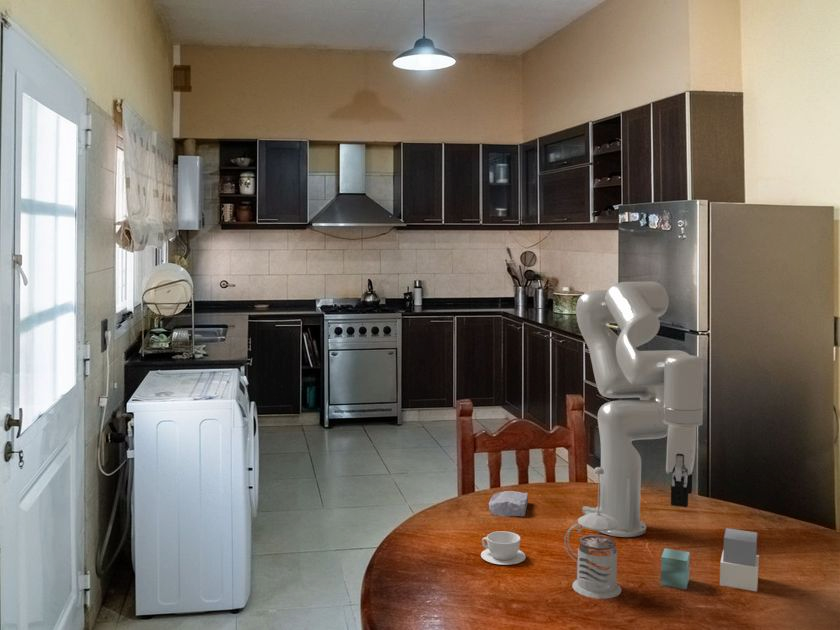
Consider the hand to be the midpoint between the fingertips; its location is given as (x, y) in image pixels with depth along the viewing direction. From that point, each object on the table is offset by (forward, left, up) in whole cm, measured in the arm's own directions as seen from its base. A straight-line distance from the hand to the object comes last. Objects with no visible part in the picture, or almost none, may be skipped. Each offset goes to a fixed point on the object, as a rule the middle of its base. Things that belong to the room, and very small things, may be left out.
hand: (681, 499), depth 158 cm
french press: (-16, -9, -18) cm, 26 cm away
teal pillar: (-1, 0, -18) cm, 18 cm away
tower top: (+11, +6, -13) cm, 18 cm away
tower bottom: (+11, +5, -18) cm, 22 cm away
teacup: (-37, -3, -18) cm, 41 cm away
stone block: (-46, +28, -18) cm, 57 cm away
